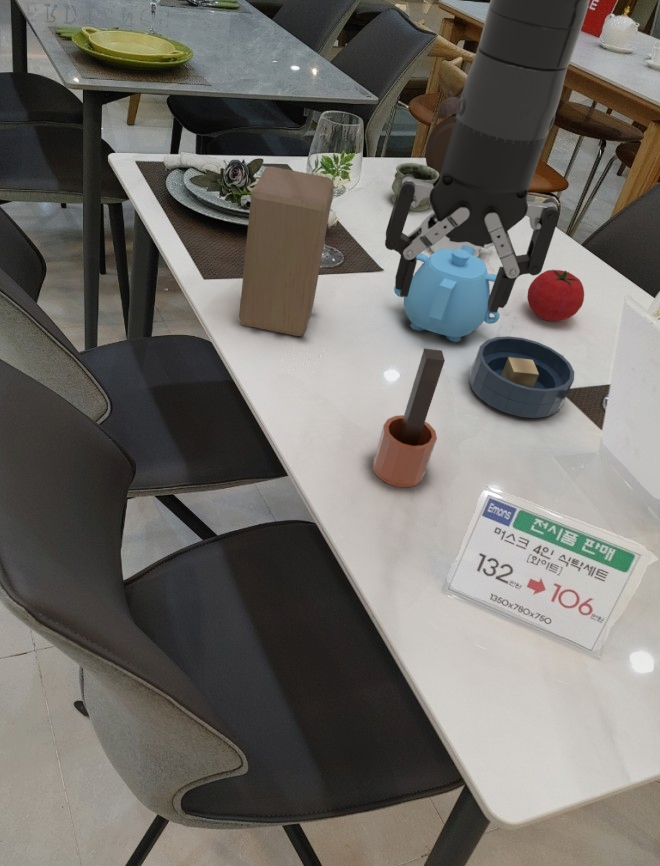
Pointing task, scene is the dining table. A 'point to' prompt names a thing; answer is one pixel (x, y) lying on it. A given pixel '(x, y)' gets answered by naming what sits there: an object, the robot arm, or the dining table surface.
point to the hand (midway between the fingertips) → (447, 300)
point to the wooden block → (284, 249)
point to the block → (520, 371)
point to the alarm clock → (442, 132)
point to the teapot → (449, 293)
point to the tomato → (555, 295)
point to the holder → (402, 455)
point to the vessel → (419, 174)
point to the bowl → (515, 397)
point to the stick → (421, 396)
